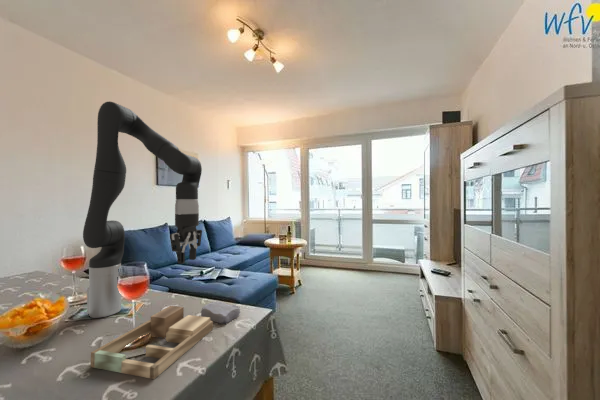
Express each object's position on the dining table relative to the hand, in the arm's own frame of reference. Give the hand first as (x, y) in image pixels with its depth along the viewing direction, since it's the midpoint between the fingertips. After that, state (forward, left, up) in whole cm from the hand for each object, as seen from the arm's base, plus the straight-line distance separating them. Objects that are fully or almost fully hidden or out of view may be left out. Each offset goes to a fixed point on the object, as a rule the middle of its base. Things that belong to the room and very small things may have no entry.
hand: (187, 261), depth 87 cm
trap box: (+4, -16, -19) cm, 26 cm away
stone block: (+11, +4, -20) cm, 23 cm away
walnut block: (0, -9, -20) cm, 22 cm away
